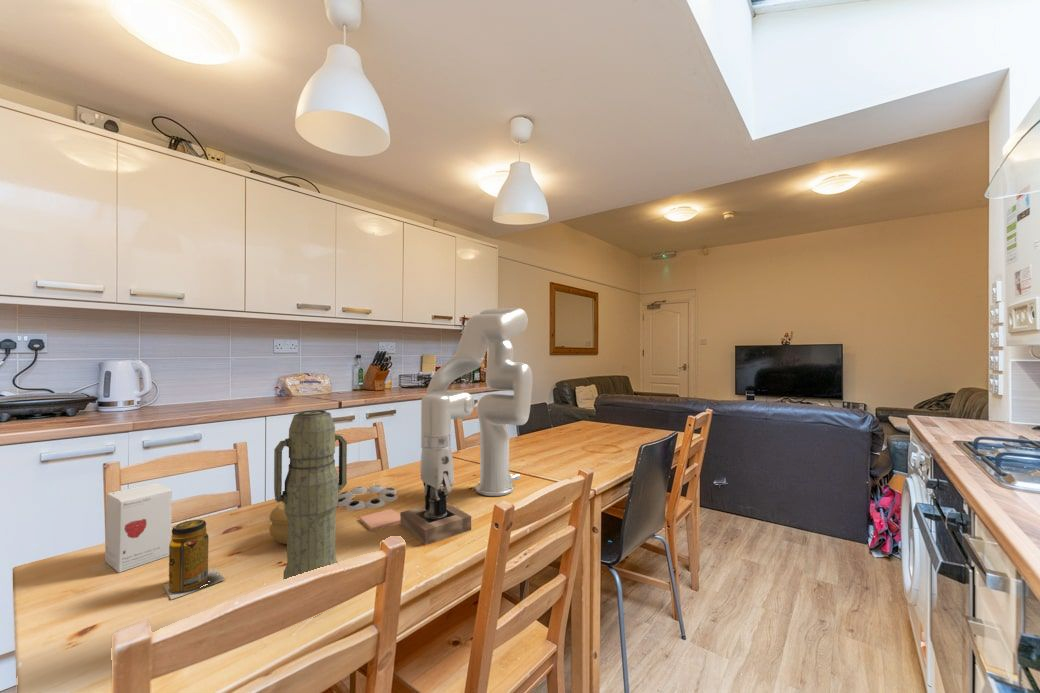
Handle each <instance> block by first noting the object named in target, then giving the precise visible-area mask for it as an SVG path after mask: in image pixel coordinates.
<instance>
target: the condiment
mask: <svg viewBox="0 0 1040 693" xmlns="http://www.w3.org/2000/svg"><path fill="white" fill-rule="evenodd" d="M168 566H169V567H168V583H166V584H162V586H163V587H164V590H165V591H166V593H167V596H168V597H169V598H170V600H173V599H177V598H179V597H182V596H185V595H188V594H192V593H194V592H197V591H199V590H201V589H203V588H205V587H207V588H208V587H209V586H212V585H215V584H218V583H220V582H223V581H225V580H226V578H224V576H223V575H222V574H221V573H220V572H219V571H218V569H217V568H216V567H212V568H210V569H209V533H207V522H206V520H203V519H191V520H186V521H183V522H179V523H178V524H176V525H175V526H173V527H172V528H171V542H170V545H169V556H168ZM217 574H218V575H217ZM208 581H210V582H208ZM205 584H208V585H206V586H203V585H205ZM201 586H203V587H201ZM200 587H201V588H200Z"/></svg>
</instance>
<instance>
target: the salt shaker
mask: <svg viewBox="0 0 1040 693" xmlns="http://www.w3.org/2000/svg"><path fill="white" fill-rule="evenodd" d="M441 491H442V489H441V490H439V494H440V492H441ZM434 500H436V494H435V488H434V487H432V486H431V488H430V498H429V501H430V509H429V511H427V512H426V513H425V514H424V516H425V519H426V521H427V522H429V523H431V522H434V521H437V520H441V519H444V518H446V515H447V512H446V513H445V514H442V515H438V516H435V515H434Z"/></svg>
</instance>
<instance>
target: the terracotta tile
mask: <svg viewBox="0 0 1040 693" xmlns="http://www.w3.org/2000/svg"><path fill="white" fill-rule="evenodd" d="M359 521H360V522H361V523H362V524H363V525H364V526H365V527H367V528H368V529H369V531H371V532H374V531H378V530H382V529H385V528H388V527H391V526H395V525H397V524H398V525H399V524H400V514H399V513H398V512H397V511H395V510H394V509H392V508H390V509H385V510H381V511H378V512H372V513H369V514H366V515H362V516H359Z"/></svg>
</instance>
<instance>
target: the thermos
mask: <svg viewBox="0 0 1040 693" xmlns="http://www.w3.org/2000/svg"><path fill="white" fill-rule="evenodd" d="M335 442H338V472H337V469H336V465H335V464H336V460H335V456H334V455H335V453H336V443H335ZM347 444H348V443H347V441H346V439H345V438H344V437H343V436H342V435H341V434H336V426H335V423H334V420H333V416H332V414H331V412H327V410H323V409H322V410H320V409H318V410H316V409H315V410H313V409H312V410H305V411H299V412H298V413H297V414H296V413H295V414H294V415H293V416H292V420H291V422H290V426H289V427H288V438H285V439H284V440H280V441H279V443H278V444H277V445H276V447H275V448H273V449H274V453H273V455H274V458H273V459H274V460H273V461H274V462H273V467H274V468H273V471H274V472H273V474H274V475H273V492H274V493H273V494H274V495H273V496H274V499H275V501H276V502H277V503H284V512H285V514H286V516H287V544H286V565H285V568H284V570H283V577H282V578H283V580H284V579H287V578H289V577H292V576H296V575H298V574H302V573H304V572H308V571H311V570H314V569H317V568H320V567H324V566H327V565H331V564H334V563H338V560H337V556H336V510H337V508H338V507H337V505H338V502H339V501H338V494H340V491H342V490H343V488H345V487H346V485H347V479H348V478H347V476H348V475H347V469H348V468H347V466H348V465H347V464H348V463H347V459H348V458H347V456H348V455H347V454H348V452H347V451H348V450H347V449H348V447H347ZM285 447H287V448H288V458H289V464H288V472H287V474H286V477H285V479H284V490H282V489H283V488H282V486H283V484H282V482H283V481H282V478H283V477H282V476H283V475H282V474H283V472H282V471H283V469H282V468H283V449H284V448H285ZM338 564H339V563H338Z"/></svg>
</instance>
